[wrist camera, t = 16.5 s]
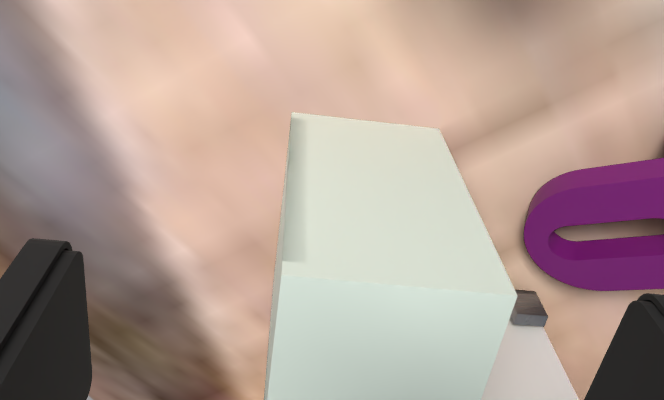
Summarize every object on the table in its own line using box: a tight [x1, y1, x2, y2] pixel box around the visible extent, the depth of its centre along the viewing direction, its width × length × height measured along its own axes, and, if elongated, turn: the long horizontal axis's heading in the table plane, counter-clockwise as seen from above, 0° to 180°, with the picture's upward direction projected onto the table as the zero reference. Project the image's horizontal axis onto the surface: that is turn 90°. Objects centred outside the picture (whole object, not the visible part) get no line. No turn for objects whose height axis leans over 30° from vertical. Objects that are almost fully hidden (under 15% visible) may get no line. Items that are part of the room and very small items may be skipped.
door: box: [481, 317, 579, 400], centre depth 44 cm, size 10×3×14 cm, turn 82°
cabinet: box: [264, 112, 517, 400], centre depth 37 cm, size 10×14×18 cm
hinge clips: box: [510, 290, 548, 327], centre depth 48 cm, size 9×5×4 cm, turn 82°
